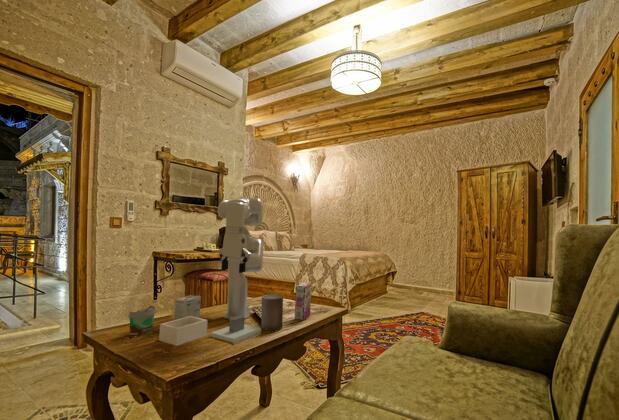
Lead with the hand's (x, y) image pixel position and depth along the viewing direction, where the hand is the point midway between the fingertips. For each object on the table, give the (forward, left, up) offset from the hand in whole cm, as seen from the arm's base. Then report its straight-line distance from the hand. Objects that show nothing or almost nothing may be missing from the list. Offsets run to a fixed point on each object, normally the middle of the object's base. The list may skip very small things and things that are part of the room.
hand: (233, 271), depth 135 cm
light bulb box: (-1, -29, -26) cm, 39 cm away
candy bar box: (-38, +12, -26) cm, 48 cm away
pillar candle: (-16, +9, -26) cm, 32 cm away
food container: (+21, -27, -26) cm, 43 cm away
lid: (+2, +5, -26) cm, 26 cm away
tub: (+17, -8, -26) cm, 32 cm away
